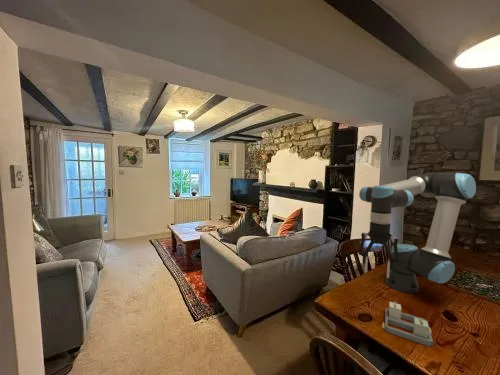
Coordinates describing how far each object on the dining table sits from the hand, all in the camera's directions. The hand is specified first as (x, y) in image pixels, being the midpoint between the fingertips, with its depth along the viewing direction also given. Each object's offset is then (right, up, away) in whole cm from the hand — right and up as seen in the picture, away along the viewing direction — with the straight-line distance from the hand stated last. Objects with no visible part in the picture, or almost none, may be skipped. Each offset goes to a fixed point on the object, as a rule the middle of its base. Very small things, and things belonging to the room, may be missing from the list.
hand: (376, 273), depth 96 cm
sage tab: (+9, -19, -12) cm, 25 cm away
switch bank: (+8, -20, -7) cm, 23 cm away
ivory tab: (+6, -18, -2) cm, 19 cm away
